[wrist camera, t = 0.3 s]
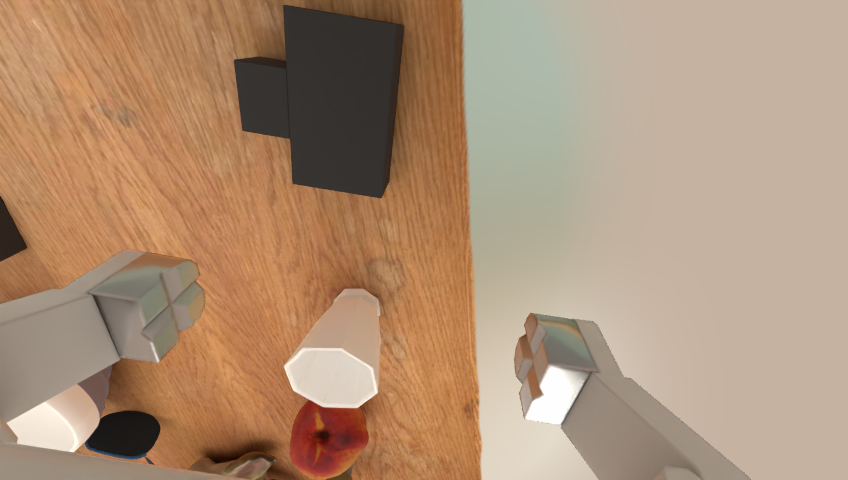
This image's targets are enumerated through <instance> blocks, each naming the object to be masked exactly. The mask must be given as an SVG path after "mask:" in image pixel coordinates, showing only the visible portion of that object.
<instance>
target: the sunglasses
mask: <svg viewBox="0 0 848 480" xmlns="http://www.w3.org/2000/svg"><path fill="white" fill-rule="evenodd" d="M159 433H160V425H159V423H158V421H157V420H156V419H155V418H154V417H153V416H151V415H149V414H147V413H143V412H138V411H121V412H116V413H112V414H108V415H106V416H104V417H103V418H101V419H100V421H99V424H98V427H97V428H96V429H95V430H94V432H93V433H92V434H91V436H90V437H89V438H88V439H87V440H86V441H85V445H86V447H87V448H88V449H89V450H91V451H94V452H97V453H100V454H104V455H109V456H113V457H118V458H124V459H139V458H142V457H145V456H146V454H145V453H147V452H148V451H149V450H150V449H151V448H152V447H153V445H154V444H155V442H156V440H157V438H158V436H159ZM100 450H101V451H100ZM108 452H109V453H108ZM145 458H146V457H145ZM146 460H147V462H148V463H149V464H153V463H152V462H151V461H150V460H149V459H148V458H146ZM153 465H154V464H153Z"/></svg>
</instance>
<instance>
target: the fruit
mask: <svg viewBox="0 0 848 480" xmlns="http://www.w3.org/2000/svg"><path fill="white" fill-rule="evenodd" d="M368 438H369V436H368V431H367V428H366V418H365V416H364V414H363V412H362V410H361V409H360V407H358V408H335V407H322V406H320V405H318V404H316V403H315V402H313V401H311V400H309V401H308V402H307V403H306V404H305V405H304V406H303V407H302V408H301V410H300V411H299V413H298V414H297V417H296V419H295V421H294V424H293V429H292V434H291V440H290V457H291V460H292V462H293V464H294V465H295V467H296V468H297V469H298V470H299V471H300V472H302V473H303V474H304V475H306V476H308V477H310V478H314V479H327V478H332V477H335V476H338V475H340V474H342V473H343V472H344V471H346V470H347V469H348V468H349V467H350V466H351V465H352V464H353V463H354V462H355V461H356V459H357V458H358V456H359V455H360V453H361V451H362V450H363V449H364V448H365V447H366V445H367V443H368Z"/></svg>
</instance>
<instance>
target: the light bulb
mask: <svg viewBox="0 0 848 480" xmlns="http://www.w3.org/2000/svg"><path fill="white" fill-rule="evenodd" d="M353 464H354V463H353ZM353 464H352V465H351V466H350V467H349V468H348V469H347V470H346V471H344V472H343V473H342V474H340V475H338V476H335V477H332V478H327V479H326V480H352V477H351V473H352V469H353V468H352V467H353Z"/></svg>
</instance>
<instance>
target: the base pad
mask: <svg viewBox="0 0 848 480" xmlns="http://www.w3.org/2000/svg"><path fill="white" fill-rule="evenodd" d="M26 248H27V247H26V245H25V243H24V242H23V240H22V238H21V236H20V234H19V232H18V230H17V228H16V226H15V224H14V222H13V220H12V219H11V217H10V215H9V213H8V211H7V209H6V207H5V205H4V203H3V201H2V199H1V197H0V261H2V260H4V259H6V258H8V257H10V256H12V255H14V254H16V253H18V252H20V251H22V250H24V249H26Z"/></svg>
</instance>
